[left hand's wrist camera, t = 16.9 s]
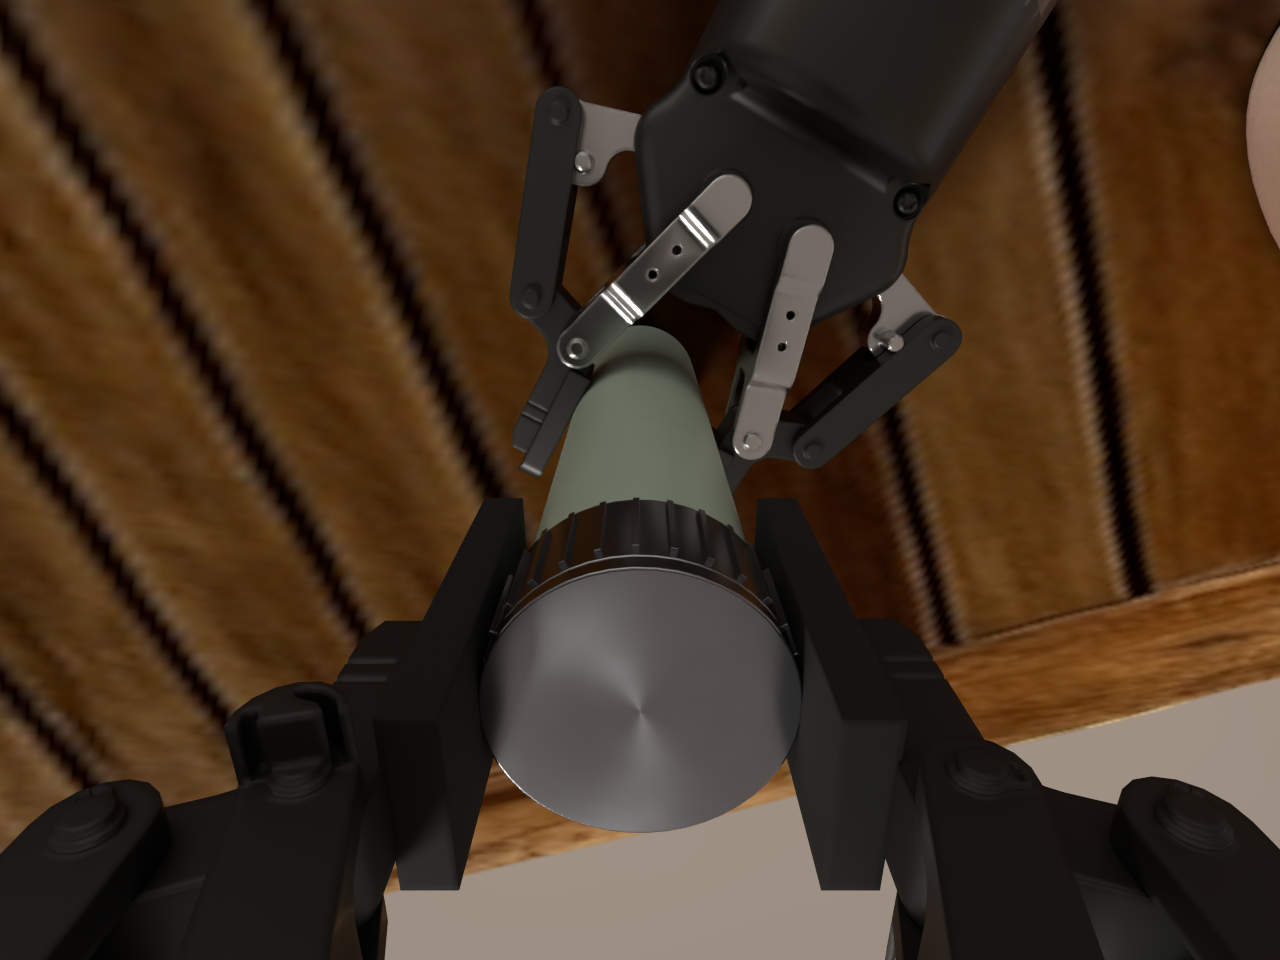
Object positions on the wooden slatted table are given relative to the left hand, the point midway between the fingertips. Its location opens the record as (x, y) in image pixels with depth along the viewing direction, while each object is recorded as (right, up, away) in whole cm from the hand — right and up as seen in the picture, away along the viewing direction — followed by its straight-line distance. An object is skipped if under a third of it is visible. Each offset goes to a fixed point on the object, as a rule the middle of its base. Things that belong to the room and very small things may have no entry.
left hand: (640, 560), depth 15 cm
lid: (0, -2, -4) cm, 4 cm away
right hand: (-1, +1, +9) cm, 9 cm away
